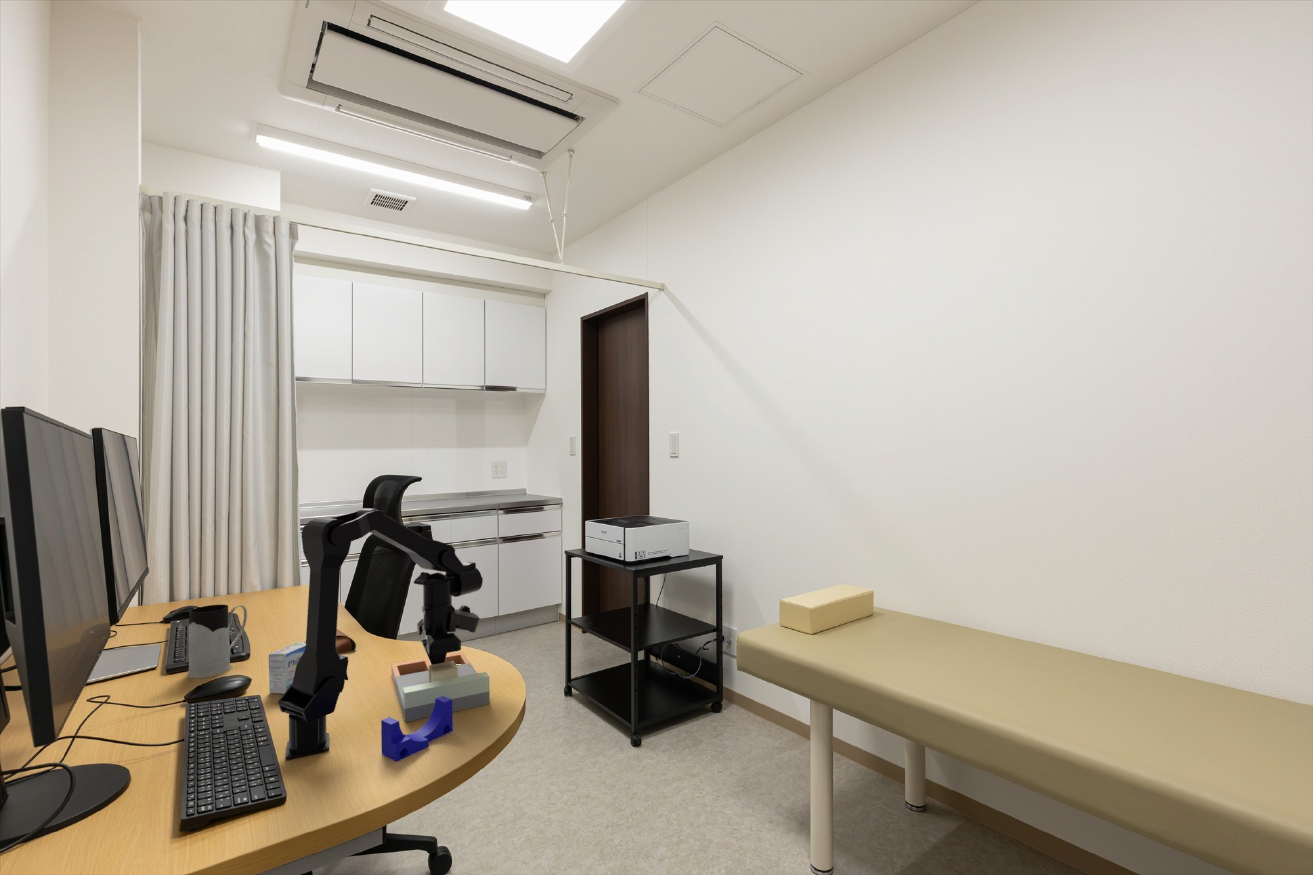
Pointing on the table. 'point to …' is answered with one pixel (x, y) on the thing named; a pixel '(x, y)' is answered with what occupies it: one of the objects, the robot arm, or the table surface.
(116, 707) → the table surface
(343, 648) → the sunglasses case
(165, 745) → the table surface
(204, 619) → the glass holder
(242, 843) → the table surface
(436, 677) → the birch block
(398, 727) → the blue cradle bracket
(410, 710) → the trap deck
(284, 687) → the medicine box
